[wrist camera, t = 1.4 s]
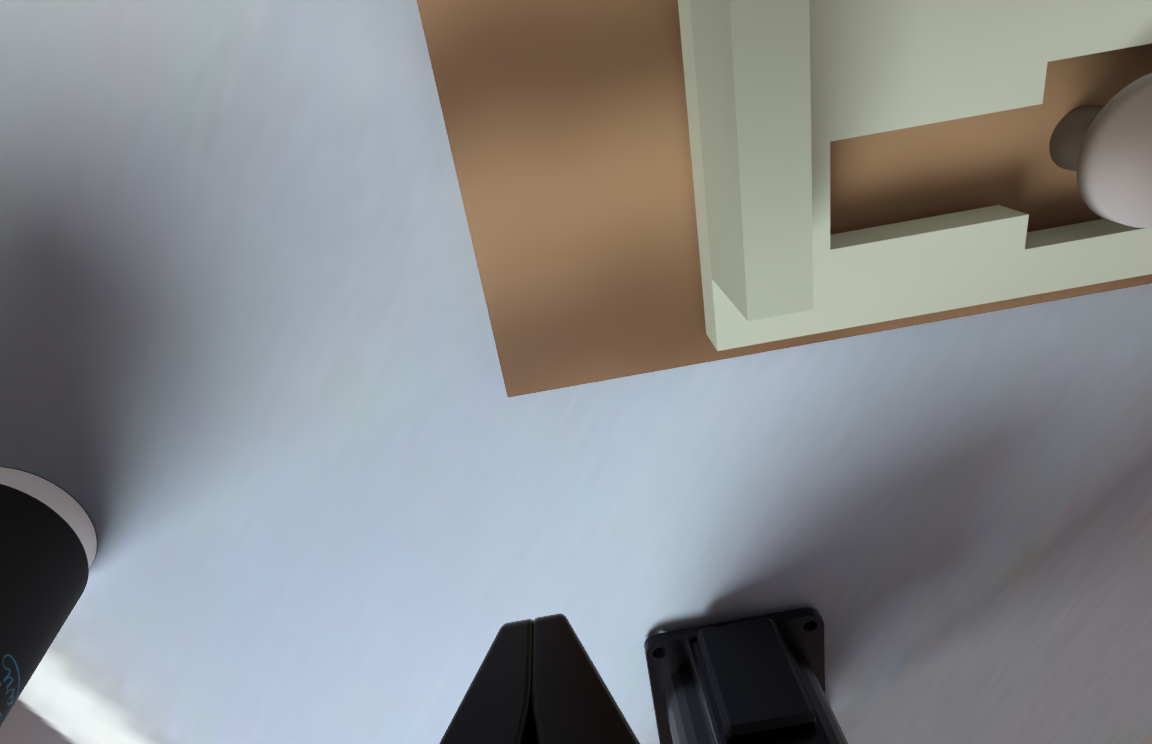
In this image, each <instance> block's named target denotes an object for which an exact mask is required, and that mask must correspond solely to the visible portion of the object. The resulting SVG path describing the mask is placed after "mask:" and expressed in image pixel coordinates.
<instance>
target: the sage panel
mask: <svg viewBox="0 0 1152 744" xmlns="http://www.w3.org/2000/svg"><path fill="white" fill-rule="evenodd" d="M678 8H679V20H680V32H681V44H682V55H683V67H684V79H685V90H686V102H687V114H688V125H689V137H690V149H691V160H692V172H693V184H694V196H695V207H696V219H697V231H698V242H699V254H700V266H701V277H702V289H703V301H704V313H705V324H706V334H707V336H708V337H709V339H710V340H711V342H712V343H713V345H714V347H715V348H716V350H717V351H721V350H727V349H732V348H738V347H744V346H749V345H755V344H761V343H766V342H772V341H777V340H783V339H789V338H794V337H800V336H806V335H811V334H817V333H823V332H828V331H834V330H839V329H845V328H851V327H856V326H862V325H868V324H873V323H879V322H884V321H890V320H896V319H901V318H907V317H913V316H918V315H924V314H929V313H935V312H941V311H946V310H952V309H958V308H963V307H969V306H975V305H980V304H986V303H991V302H997V301H1003V300H1008V299H1014V298H1020V297H1025V296H1031V295H1036V294H1042V293H1048V292H1053V291H1059V290H1065V289H1070V288H1076V287H1082V286H1087V285H1093V284H1098V283H1104V282H1110V281H1115V280H1121V279H1127V278H1132V277H1138V276H1143V275H1149V274H1152V228H1137V227H1131V226H1127V225H1124V224H1120V223H1117V222H1113V221H1110V220H1107V219H1100V220H1094V221H1088V222H1083V223H1077V224H1071V225H1066V226H1060V227H1055V228H1049V229H1043V230H1038V231H1032V232H1027V226H1028V218H1029V214H1026V213H1022V212H1019V211H1016V210H1013V209H1010V208H1007V207H1004V206H1001V205H995V206H989V207H984V208H978V209H972V210H967V211H961V212H956V213H950V214H944V215H939V216H933V217H927V218H922V219H916V220H910V221H905V222H899V223H894V224H888V225H882V226H877V227H871V228H865V229H860V230H854V231H849V232H843V233H837V234H832V235H830V142H831V141H836V140H842V139H848V138H853V137H859V136H865V135H870V134H876V133H881V132H887V131H893V130H898V129H904V128H910V127H915V126H921V125H926V124H932V123H938V122H943V121H949V120H955V119H960V118H966V117H971V116H977V115H983V114H988V113H994V112H1000V111H1005V110H1011V109H1016V108H1022V107H1028V106H1033V105H1039V104H1043V95H1044V87H1045V79H1046V71H1047V63H1048V62H1050V61H1055V60H1061V59H1067V58H1072V57H1078V56H1083V55H1089V54H1095V53H1100V52H1106V51H1112V50H1117V49H1123V48H1128V47H1134V46H1140V45H1145V44H1151V43H1152V0H678Z"/></svg>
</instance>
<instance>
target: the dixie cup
mask: <svg viewBox="0 0 1152 744" xmlns="http://www.w3.org/2000/svg"><path fill="white" fill-rule="evenodd" d="M96 551H97V538H96V533H95V530H94V527H93V525H92V522H91V520H90V519H89V517H88V515H87V514H86V512H85V511H84V510H83V508H82V507H81V506H80V505H79V504H78V503H77V502H76V501H75V500H74V499H73V498H72V497H71V496H70V495H69V494H67V493H66V492H65V491H63V490H62V489H61V488H59V487H57V486H56V485H54V484H52V483H51V482H49V481H47V480H45V479H43V478H40V477H38V476H36V475H33V474H30V473H27V472H24V471H20V470H15V469H10V468H3V467H0V726H1V725H2V723H3V721H4V720H5V718H6V716H7V715H8V713H9V712H10V710H11V708H12V707H13V705H14V703H15V702H16V700H17V699H18V697H19V695H20V694H21V692H22V691H23V689H24V687H25V686H26V684H27V682H28V681H29V679H30V678H31V676H32V674H33V673H34V671H35V669H36V668H37V666H38V665H39V663H40V661H41V660H42V658H43V656H44V655H45V653H46V652H47V650H48V648H49V647H50V645H51V644H52V642H53V640H54V639H55V637H56V635H57V634H58V632H59V631H60V629H61V627H62V626H63V624H64V622H65V621H66V619H67V618H68V616H69V614H70V613H71V611H72V609H73V608H74V606H75V605H76V603H77V601H78V600H79V598H80V597H81V595H82V593H83V591H84V589H85V586H86V584H87V580H88V572H89V568H90V567H91V565H92V563H93V561H94V559H95V556H96Z"/></svg>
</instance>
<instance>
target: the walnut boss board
mask: <svg viewBox="0 0 1152 744" xmlns="http://www.w3.org/2000/svg"><path fill="white" fill-rule="evenodd" d="M417 3H418V7H419V12H420V16H421V21H422V25H423V29H424V34H425V38H426V42H427V47H428V51H429V55H430V60H431V64H432V69H433V73H434V77H435V82H436V86H437V90H438V95H439V99H440V103H441V108H442V112H443V117H444V121H445V125H446V130H447V134H448V138H449V143H450V147H451V151H452V156H453V160H454V165H455V169H456V173H457V178H458V182H459V186H460V191H461V195H462V199H463V204H464V208H465V213H466V217H467V221H468V226H469V230H470V234H471V239H472V243H473V247H474V252H475V256H476V261H477V265H478V269H479V274H480V278H481V282H482V287H483V291H484V295H485V300H486V304H487V308H488V313H489V317H490V322H491V326H492V330H493V335H494V339H495V343H496V348H497V352H498V356H499V361H500V365H501V370H502V374H503V378H504V383H505V387H506V391H507V396H508V397H513V396H518V395H524V394H530V393H535V392H541V391H547V390H552V389H558V388H563V387H569V386H575V385H580V384H586V383H592V382H597V381H603V380H608V379H614V378H620V377H625V376H631V375H637V374H642V373H648V372H654V371H659V370H665V369H670V368H676V367H682V366H687V365H693V364H699V363H704V362H710V361H715V360H721V359H727V358H732V357H738V356H744V355H749V354H755V353H760V352H766V351H772V350H777V349H783V348H789V347H794V346H800V345H806V344H811V343H817V342H822V341H828V340H834V339H839V338H845V337H851V336H856V335H862V334H867V333H873V332H879V331H884V330H890V329H896V328H901V327H907V326H913V325H918V324H924V323H929V322H935V321H941V320H946V319H952V318H958V317H963V316H969V315H974V314H980V313H986V312H991V311H997V310H1003V309H1008V308H1014V307H1019V306H1025V305H1031V304H1036V303H1042V302H1048V301H1053V300H1059V299H1065V298H1070V297H1076V296H1081V295H1087V294H1093V293H1098V292H1104V291H1110V290H1115V289H1121V288H1126V287H1132V286H1138V285H1143V284H1149V283H1152V274H1149V275H1143V276H1138V277H1132V278H1127V279H1121V280H1115V281H1110V282H1104V283H1098V284H1093V285H1087V286H1082V287H1076V288H1070V289H1065V290H1059V291H1053V292H1048V293H1042V294H1036V295H1031V296H1025V297H1020V298H1014V299H1008V300H1003V301H997V302H991V303H986V304H980V305H975V306H969V307H963V308H958V309H952V310H946V311H941V312H935V313H929V314H924V315H918V316H913V317H907V318H901V319H896V320H890V321H884V322H879V323H873V324H868V325H862V326H856V327H851V328H845V329H839V330H834V331H828V332H823V333H817V334H811V335H806V336H800V337H794V338H789V339H783V340H777V341H772V342H766V343H761V344H755V345H749V346H744V347H738V348H732V349H727V350H721V351H717V350H716V348H715V347H714V345H713V343H712V342H711V340H710V339H709V337H708V336H707V334H706V324H705V313H704V301H703V289H702V277H701V266H700V254H699V242H698V231H697V219H696V207H695V196H694V184H693V172H692V160H691V149H690V137H689V125H688V114H687V102H686V90H685V79H684V67H683V55H682V44H681V32H680V20H679V8H678V0H417ZM995 205H1001V206H1004V207H1007V208H1010V209H1013V210H1016V211H1019V212H1022V213H1026V214H1029V218H1028V226H1027V232H1032V231H1038V230H1043V229H1049V228H1055V227H1060V226H1066V225H1071V224H1077V223H1083V222H1088V221H1094V220H1100V219H1107V220H1110V221H1113V222H1117V223H1120V224H1124V225H1127V226H1131V227H1137V228H1152V43H1151V44H1145V45H1140V46H1134V47H1128V48H1123V49H1117V50H1112V51H1106V52H1100V53H1095V54H1089V55H1083V56H1078V57H1072V58H1067V59H1061V60H1055V61H1050V62H1048V63H1047V71H1046V79H1045V87H1044V95H1043V104H1039V105H1033V106H1028V107H1022V108H1016V109H1011V110H1005V111H1000V112H994V113H988V114H983V115H977V116H971V117H966V118H960V119H955V120H949V121H943V122H938V123H932V124H926V125H921V126H915V127H910V128H904V129H898V130H893V131H887V132H881V133H876V134H870V135H865V136H859V137H853V138H848V139H842V140H836V141H831V142H830V235H832V234H837V233H843V232H849V231H854V230H860V229H865V228H871V227H877V226H882V225H888V224H894V223H899V222H905V221H910V220H916V219H922V218H927V217H933V216H939V215H944V214H950V213H956V212H961V211H967V210H972V209H978V208H984V207H989V206H995Z"/></svg>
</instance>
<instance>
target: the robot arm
mask: <svg viewBox="0 0 1152 744" xmlns="http://www.w3.org/2000/svg"><path fill="white" fill-rule="evenodd" d="M808 621H810V622H808ZM806 622H808V623H806ZM644 648H645V655H646V661H647V667H648V673H649V679H650V686H651V692H652V698H653V704H654V710H655V716H656V723H657V729H658V735H659V741H660V744H848V743H847V740H846V738H845V736H844V734H843V732H842V730H841V728H840V726H839V724H838V721H837V719H836V717H835V715H834V713H833V711H832V709H831V707H830V705H829V702H828V700H827V698H826V696H825V678H824V622H823V619H822V617H821V615H820V613H819V612H818V611H817V610H816V609H814V608H801V609H796V610H790V611H784V612H779V613H773V614H767V615H762V616H756V617H750V618H745V619H739V620H733V621H728V622H722V623H717V624H711V625H705V626H700V627H694V628H688V629H683V630H677V631H671V632H666V633H660V634H655V635H652V636H650V637H649V638H648V639H647V640H646V641H645V644H644ZM657 648H661V649H657ZM440 744H640V743H639V741H638V740H637V738H636V736H635V734H634V733H633V731H632V729H631V728H630V726H629V724H628V722H627V721H626V719H625V717H624V715H623V714H622V712H621V710H620V709H619V707H618V705H617V703H616V702H615V700H614V698H613V697H612V695H611V693H610V691H609V690H608V688H607V686H606V685H605V683H604V681H603V679H602V678H601V676H600V674H599V673H598V671H597V669H596V667H595V666H594V664H593V662H592V661H591V659H590V657H589V655H588V654H587V652H586V650H585V649H584V647H583V645H582V643H581V642H580V640H579V638H578V637H577V635H576V633H575V631H574V630H573V628H572V626H571V625H570V623H569V621H568V619H567V618H566V617H565V616H564V615H563V614H555V615H550V616H544V617H538V618H536V619H535V620H534V621H533V620H531V619H527V620H522V621H516V622H511V623H506V624H504V625H503V626H502V627H501V628H500V630H499V632H498V634H497V636H496V638H495V640H494V642H493V643H492V645H491V647H490V649H489V651H488V653H487V655H486V657H485V659H484V660H483V662H482V664H481V666H480V668H479V670H478V672H477V674H476V676H475V678H474V679H473V681H472V683H471V685H470V687H469V689H468V691H467V693H466V695H465V696H464V698H463V700H462V702H461V704H460V706H459V708H458V710H457V712H456V713H455V715H454V717H453V719H452V721H451V723H450V725H449V727H448V729H447V730H446V732H445V734H444V736H443V738H442V740H441V742H440Z"/></svg>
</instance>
